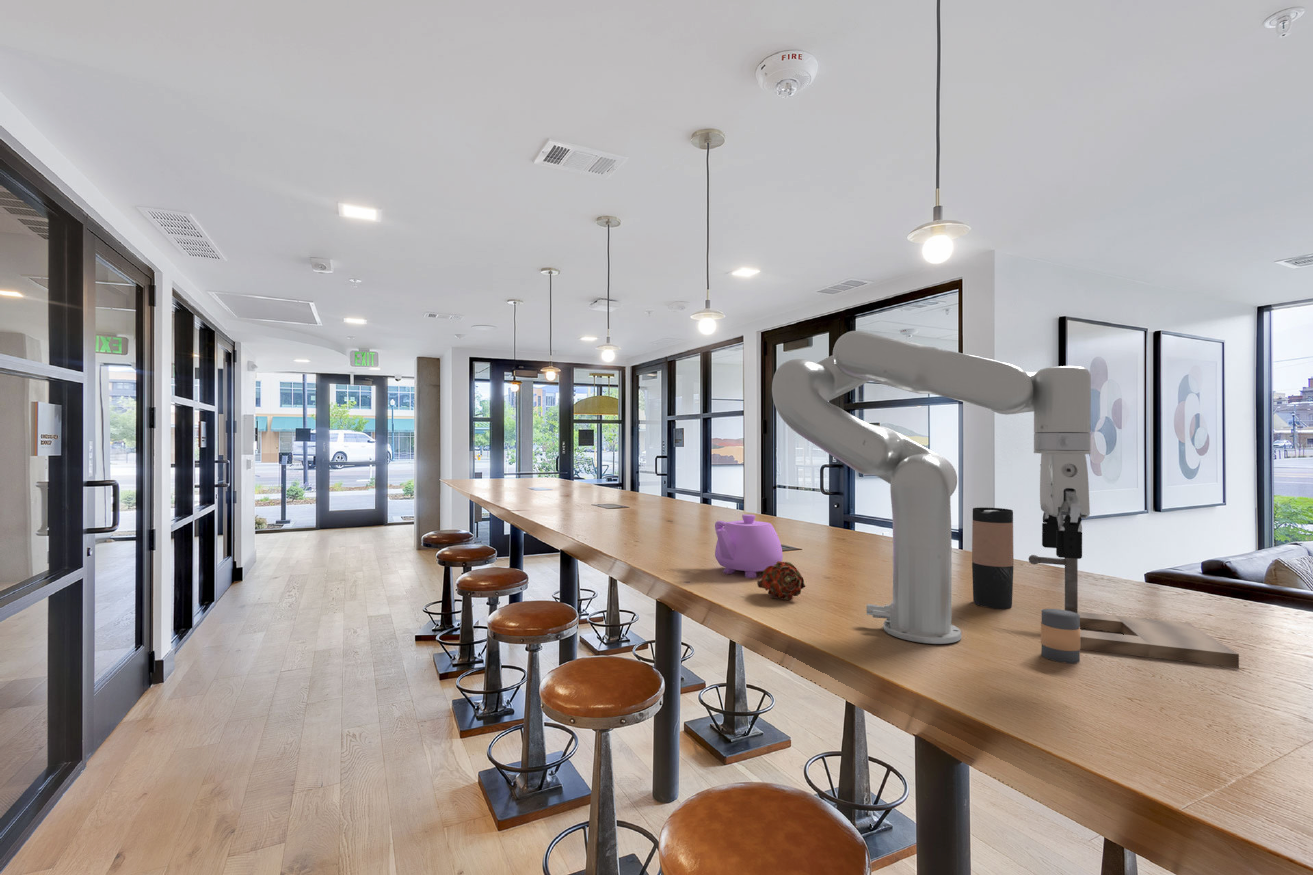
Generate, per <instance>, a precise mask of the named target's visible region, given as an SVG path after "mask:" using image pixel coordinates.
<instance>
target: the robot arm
mask: <svg viewBox="0 0 1313 875" xmlns="http://www.w3.org/2000/svg"><path fill="white" fill-rule="evenodd" d="M832 349H833V350H832V355H830V356H828V357H826V358H824V359H822V360H820V361H818V362H814V361H811V360H808V359H803V358H795V359H789V360H787V361H785V362H783V363H782V364H780V365H779V366H778V368H777V369H776V371H775V373H774V374H773V378H772V384H771V394H772V400H773V404H774V406H775V409H776V411H777V413H778V416H780V418H781V419H782V421H783V422H784V423H785V424H786V426H788V427H789V428H790V429H791V430H792V431H794V432H795V433H796V434H797V435H799V436H800V437H802V438H804V439H805V440H807V441H808V442H809V443H812V444H813V445H814V446H816V447H818V448H819V449H821V450H822V451H824V452H825V453H827V454H829V455H830V456H831V457H834V458H835V459H836V460H839V461H840V462H842V463H843V464H844V465H846V466H848V467H849V468H851V469H852V470H853V471H855V472H857V473H858V474H860V475H861V474H862V475H866V476H875V477H877V478H880V479H881V480H883V481H885V482H886V483H888V484H889V485H890V490H889V491H890V493H889V494H890V502H891V512H892V513H891V515H892V518H891V519H892V600H891V601H890V604H885V605H877V604H871V603H867V604H866V615H868V616H872V618H876V619H886V620H884V622H883V630H884V631H885V633H887V634H889V635H890V636H893V637H895V638H898V639H901V640H906V641H909V642H915V643H919V644H920V643H922V644H931V645H932V644H933V645H944V644H953V643H956V642H959V641H960V640H961V639H962V630H961V629H960V628H959V627H957V626H956V625H953V624H952V574H953V573H952V570H953V569H952V563H953V562H952V552H953V551H952V513H951V512H952V511H951V508H952V507H951V498H952V497H951V496H953V494H954V493H955V491H956V489H957V486H958V474H957V472H956V469H955V467H954V466H953V464H952V463H951V462H950V461H949V460H947V459H946V458H945V457H944V456H941V455H940V454H938V453H936V452H934V451H932V450H930V449H929V448H927V447H925V446H923V445H921V444H920V443H918V442H916V441H914V440H912V439H910V438H909V437H907V436H905V435H903V434H902V433H900V432H897V431H895V430H894V429H892V428H889V427H886V426H883V425H877V424H872V423H869V422H866V421H865V420H862V419H860V418H858V417H856V416H855V415H853V414H851V413H849V412H847V411H846V410H844V409H842V408H841V407H839V406H838V405H835V404H833V403H831V402H830V401H832V400H834V399H836V398H839V397H840V396H842V395H844V394H846V393H849V392H850V391H852V390H855V389H857V388H859V387H861V386H863V385H864V384H866V383H868V382H874V383H878V384H881V385H885V386H888V387H891V388H895V389H899V390H903V391H906V392H909V393H915V394H919V395H923V394H924V395H927V394H928V395H935V396H939V397H944V398H948V399H951V400H956V401H960V402H963V403H967V404H971V405H974V406H979V407H981V408H985V409H988V410H991V411H992V412H994V413H997V414H1000V415H1016V414H1024V413H1033V454H1040V465H1039V466H1040V470H1039V472H1040V474H1039V501H1040V502H1039V504H1040V510H1041V511H1042V512H1043V515H1042V523H1041V526H1042V527H1041V530H1042V531H1041V546H1042V547H1043V548H1048V549H1056V550H1055V555H1056V557H1057V558H1063V559H1065V558H1074V559H1078V560H1080V559H1083V526H1082V525H1083V524H1082V521H1083V520H1082V519H1087V518H1088V517H1089V516H1090V513H1091V509H1090V507H1091V506H1090V505H1091V504H1090V490H1089V486H1090V484H1089V473H1088V463H1087V457H1086V455H1091V454H1092V453H1091V444H1092V443H1091V442H1092V441H1091V438H1092V437H1091V436H1092V433H1091V429H1092V428H1091V427H1092V426H1091V423H1092V422H1091V421H1092V420H1091V416H1092V414H1091V412H1092V411H1091V408H1092V407H1091V406H1092V405H1091V404H1092V402H1091V401H1092V400H1091V399H1092V397H1091V396H1092V395H1091V394H1092V391H1091V390H1092V380H1091V376H1092V375H1091V372H1090V371H1089V369H1087V368H1086V367H1083V366H1079V365H1078V366H1075V365H1063V366H1062V365H1060V366H1059V365H1058V366H1051V367H1044V368H1042V369H1040V370H1038V371H1025V370H1023V369H1022V368H1021V367H1019V366H1016V365H1014V364H1011V363H1007V362H1002V361H998V360H995V359H990V358H985V357H981V356H976V355H973V354H972V355H971V354H968V353H961V352H957V351H952V350H946V349H942V348H939V347H935V346H929V345H926V344H922V343H916V342H911V341H907V340H903V339H899V338H895V337H894V338H893V337H889V336H885V335H882V334H877V333H874V332H873V333H872V332H868V331H863V330H851V331H847V332H846V333H844V334H842V335H841V336H839V337H838V339H837V340H836V342H835V343H834V347H833V348H832Z"/></svg>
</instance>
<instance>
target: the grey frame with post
mask: <svg viewBox="0 0 1313 875" xmlns="http://www.w3.org/2000/svg"><path fill="white" fill-rule="evenodd" d="M1078 560H1079V559H1074V558H1060V557H1047V556H1046V557H1044V556H1038V555H1035V554H1031V555H1029V556H1028V562H1029V563H1030V564H1032V565H1038V564H1042V565H1043V564H1045V565H1047V564H1048V565H1059V566H1064V610H1066V611H1071V612H1074V613H1077V614H1079V615H1080V628H1086V629H1080V650H1086V651H1092V652H1093V651H1094V652H1102V653H1112V654H1119V655H1127V656H1128V655H1129V656H1138V657H1144V656H1145V657H1146V658H1154V659H1161V658H1165V659H1164V660H1172V661H1178V660H1182V661H1181V662H1187V661H1188V662H1187V663H1195V662H1197V664H1204V665H1205V664H1206V665H1213V666H1223V667H1230V668H1231V667H1232V668H1238V669H1239V668H1240V654H1239V653H1238V652H1236V651H1235V650H1232V649H1231V648H1229V647H1228V646H1227V645H1225V644H1223V643H1221V642H1220V641H1219V640H1217V639H1216V638H1214V637H1212V636H1210V634H1208V633H1206V632H1204V631H1203V630H1202V629H1200V628H1198V627H1196V626H1195V625H1193V624H1192V623H1190V622H1188V621H1187V622H1186V621H1176V620H1167V619H1156V618H1146V617H1135V616H1128V615H1127V616H1125V615H1116V614H1115V615H1114V614H1107V613H1106V614H1105V613H1095V612H1093V613H1092V612H1083V611H1078V610H1079V608H1078V603H1079V602H1078V598H1079V597H1078V596H1079V595H1078V593H1079V592H1078V591H1079V590H1078V589H1079V587H1078V585H1079V584H1078V578H1079V577H1078V576H1079V575H1078V573H1079V572H1078V570H1079V568H1078V566H1079V565H1078V564H1079V563H1078V562H1079V561H1078ZM1090 629H1091V630H1090ZM1099 630H1103V631H1099ZM1108 631H1109V632H1108ZM1118 632H1121V633H1118ZM1122 633H1123V634H1124V635H1123V634H1122Z"/></svg>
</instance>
